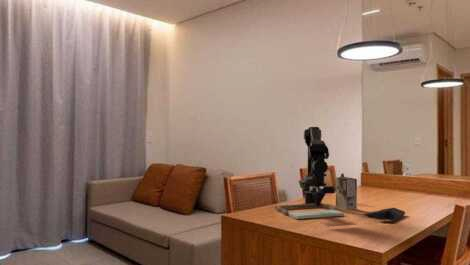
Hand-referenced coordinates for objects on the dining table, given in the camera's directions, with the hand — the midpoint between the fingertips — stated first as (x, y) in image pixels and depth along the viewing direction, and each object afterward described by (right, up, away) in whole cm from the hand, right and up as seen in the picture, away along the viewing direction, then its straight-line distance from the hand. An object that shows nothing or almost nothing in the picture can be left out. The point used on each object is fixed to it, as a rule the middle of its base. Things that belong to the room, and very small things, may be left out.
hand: (317, 206), depth 154 cm
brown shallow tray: (-3, -6, +11) cm, 12 cm away
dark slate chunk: (+32, -7, +5) cm, 33 cm away
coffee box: (+19, -6, +20) cm, 28 cm away
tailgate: (-2, -4, +5) cm, 7 cm away
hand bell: (+23, -6, +40) cm, 47 cm away
